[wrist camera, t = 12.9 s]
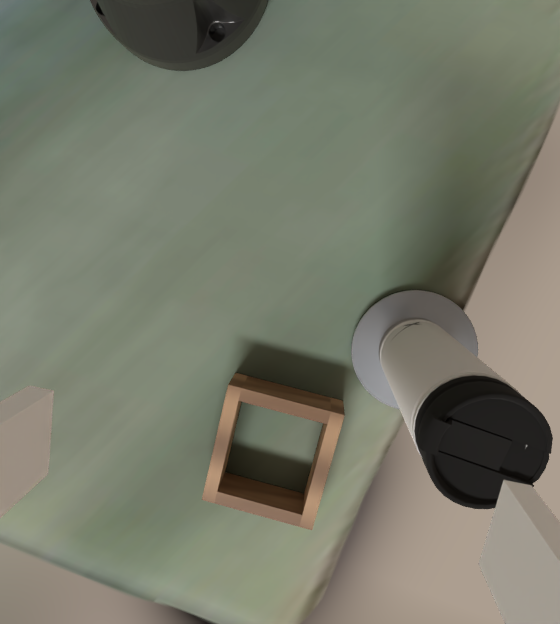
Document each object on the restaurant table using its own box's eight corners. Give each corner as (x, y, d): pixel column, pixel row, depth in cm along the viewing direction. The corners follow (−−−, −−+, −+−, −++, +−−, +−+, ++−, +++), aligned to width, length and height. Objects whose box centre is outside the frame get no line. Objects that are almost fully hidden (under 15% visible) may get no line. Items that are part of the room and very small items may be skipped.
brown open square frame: (235, 372, 44) (228, 384, 41) (342, 400, 44) (344, 415, 40) (210, 479, 46) (201, 499, 43) (312, 507, 46) (312, 530, 42)
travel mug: (390, 305, 41) (451, 373, 21) (461, 331, 41) (588, 424, 21) (364, 369, 42) (399, 489, 23) (433, 394, 42) (529, 538, 22)
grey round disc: (369, 276, 41) (370, 277, 41) (492, 306, 41) (494, 308, 40) (337, 391, 43) (338, 393, 43) (454, 421, 43) (456, 423, 42)
